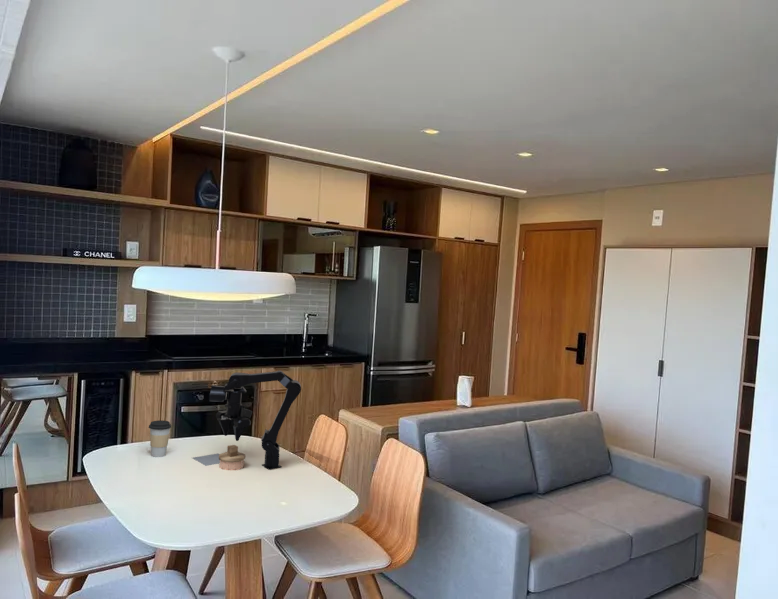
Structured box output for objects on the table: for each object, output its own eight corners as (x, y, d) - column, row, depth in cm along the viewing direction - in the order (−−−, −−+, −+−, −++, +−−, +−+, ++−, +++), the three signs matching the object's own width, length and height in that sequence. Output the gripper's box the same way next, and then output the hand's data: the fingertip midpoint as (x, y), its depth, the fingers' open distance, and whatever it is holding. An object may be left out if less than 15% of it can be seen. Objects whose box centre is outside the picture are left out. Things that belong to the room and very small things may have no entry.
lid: (250, 459, 252) (250, 447, 252) (226, 463, 245) (227, 451, 244) (236, 453, 260) (237, 441, 260) (213, 456, 252) (214, 444, 252)
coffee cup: (173, 456, 262) (176, 422, 261) (155, 460, 254) (157, 426, 253) (160, 451, 267) (162, 418, 266) (141, 455, 259) (144, 422, 258)
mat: (232, 461, 260) (232, 460, 260) (205, 466, 251) (205, 465, 251) (218, 454, 269) (218, 453, 269) (191, 458, 260) (191, 457, 260)
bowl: (247, 468, 253) (248, 459, 252) (226, 472, 245) (227, 463, 245) (235, 462, 260) (236, 453, 259) (215, 466, 252) (215, 456, 252)
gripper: (262, 404, 253) (259, 440, 254) (238, 396, 266) (236, 430, 266) (239, 407, 245) (237, 444, 245) (216, 398, 258) (213, 434, 258)
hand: (231, 438), depth 254 cm, fingers open, 9 cm apart
